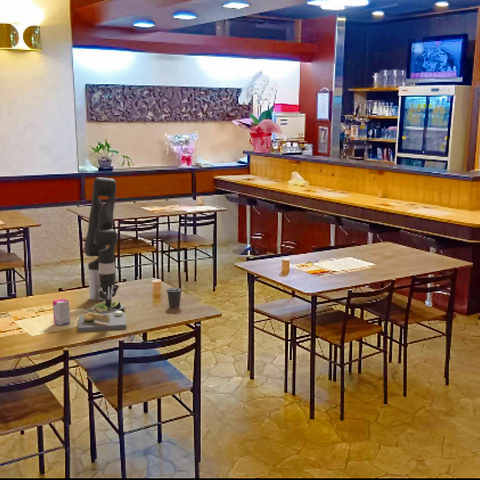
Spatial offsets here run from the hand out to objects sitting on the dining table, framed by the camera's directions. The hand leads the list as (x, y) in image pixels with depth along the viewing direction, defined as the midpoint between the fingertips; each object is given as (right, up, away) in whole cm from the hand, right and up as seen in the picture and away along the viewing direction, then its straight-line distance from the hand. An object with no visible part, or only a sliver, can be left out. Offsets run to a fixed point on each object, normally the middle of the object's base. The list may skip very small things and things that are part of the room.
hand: (108, 306), depth 293 cm
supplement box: (-23, -9, +3) cm, 25 cm away
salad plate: (-6, -5, +23) cm, 25 cm away
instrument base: (-3, -9, +3) cm, 10 cm away
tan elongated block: (-5, -7, -1) cm, 9 cm away
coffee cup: (+28, -4, +30) cm, 41 cm away
